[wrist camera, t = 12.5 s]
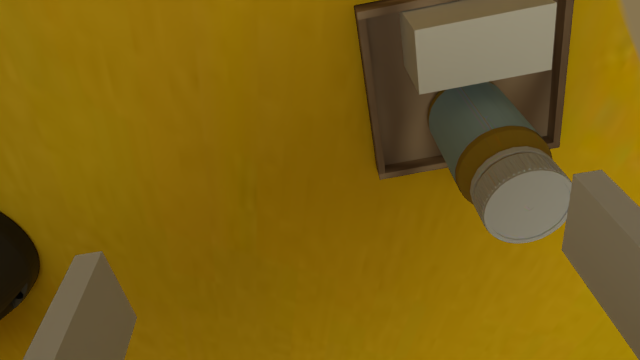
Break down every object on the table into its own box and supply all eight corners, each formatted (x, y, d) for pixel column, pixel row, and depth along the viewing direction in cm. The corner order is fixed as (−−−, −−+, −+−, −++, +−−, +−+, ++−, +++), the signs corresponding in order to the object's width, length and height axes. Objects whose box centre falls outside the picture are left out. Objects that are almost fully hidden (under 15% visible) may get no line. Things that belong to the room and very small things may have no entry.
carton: (404, 66, 43) (419, 94, 38) (398, 7, 41) (414, 30, 36) (520, 43, 43) (551, 69, 38) (523, -17, 40) (556, 2, 35)
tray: (376, 168, 50) (379, 179, 48) (353, 5, 41) (356, 12, 39) (550, 136, 49) (559, 147, 47) (565, -37, 40) (577, -32, 38)
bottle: (413, 98, 45) (462, 194, 33) (487, 59, 43) (568, 146, 31) (442, 155, 49) (495, 262, 36) (511, 122, 47) (592, 221, 34)
